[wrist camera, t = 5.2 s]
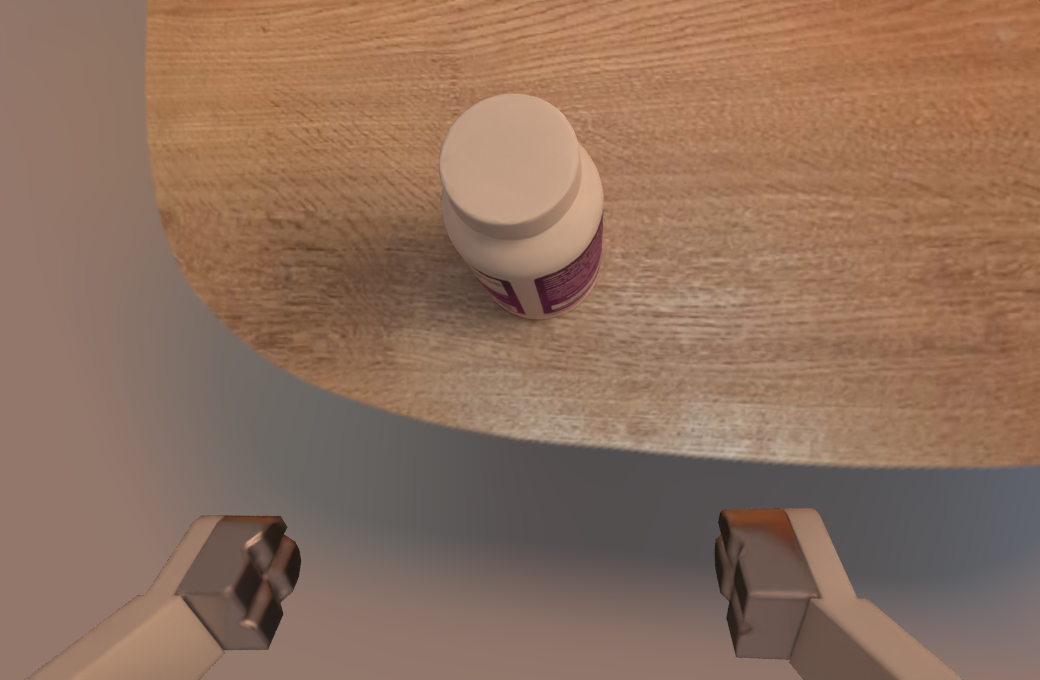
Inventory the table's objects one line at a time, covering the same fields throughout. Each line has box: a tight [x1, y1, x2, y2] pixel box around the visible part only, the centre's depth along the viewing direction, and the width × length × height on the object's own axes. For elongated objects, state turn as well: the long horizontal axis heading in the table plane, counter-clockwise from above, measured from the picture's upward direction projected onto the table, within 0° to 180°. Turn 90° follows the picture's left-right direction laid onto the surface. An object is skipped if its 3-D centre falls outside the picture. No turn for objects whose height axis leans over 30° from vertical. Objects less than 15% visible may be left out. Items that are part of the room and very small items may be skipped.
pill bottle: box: [439, 94, 604, 319], centre depth 20 cm, size 5×5×10 cm
